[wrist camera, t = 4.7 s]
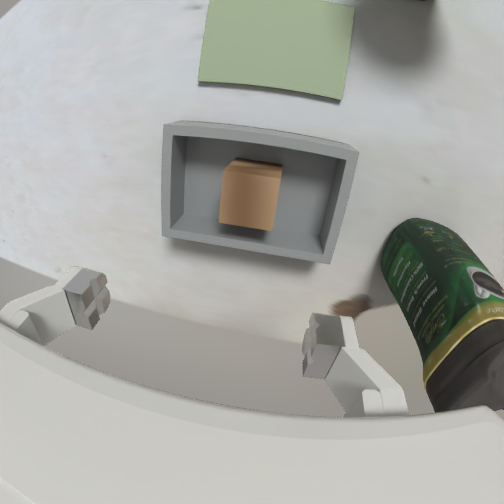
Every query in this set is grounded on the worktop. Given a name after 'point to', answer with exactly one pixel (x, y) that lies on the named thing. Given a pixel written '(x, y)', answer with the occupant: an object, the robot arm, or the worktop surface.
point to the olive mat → (278, 44)
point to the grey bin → (289, 197)
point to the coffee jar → (449, 314)
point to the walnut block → (250, 193)
